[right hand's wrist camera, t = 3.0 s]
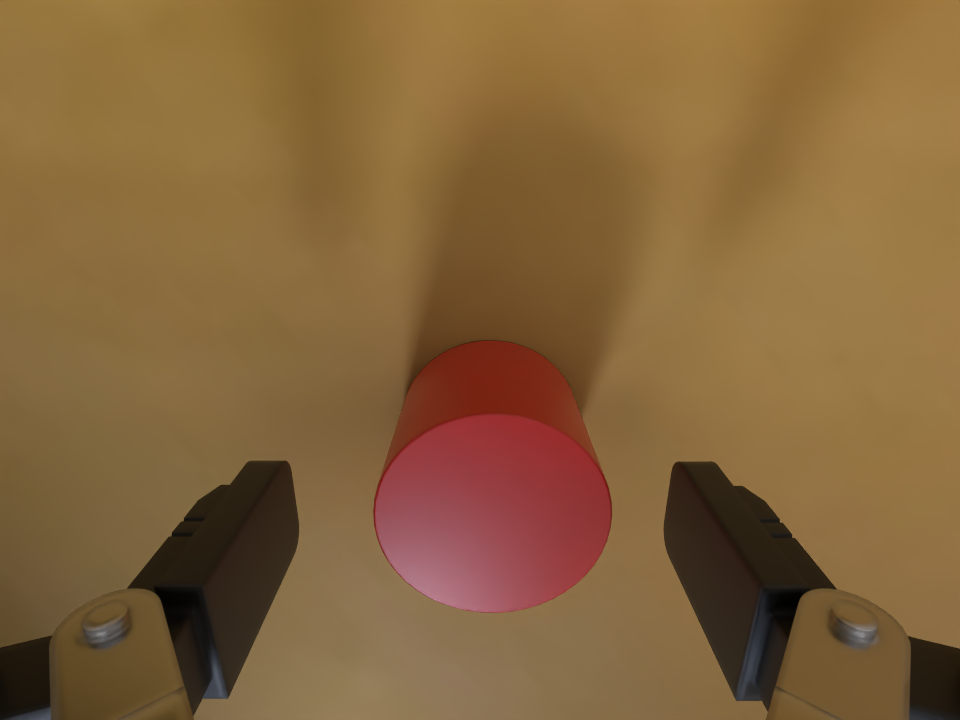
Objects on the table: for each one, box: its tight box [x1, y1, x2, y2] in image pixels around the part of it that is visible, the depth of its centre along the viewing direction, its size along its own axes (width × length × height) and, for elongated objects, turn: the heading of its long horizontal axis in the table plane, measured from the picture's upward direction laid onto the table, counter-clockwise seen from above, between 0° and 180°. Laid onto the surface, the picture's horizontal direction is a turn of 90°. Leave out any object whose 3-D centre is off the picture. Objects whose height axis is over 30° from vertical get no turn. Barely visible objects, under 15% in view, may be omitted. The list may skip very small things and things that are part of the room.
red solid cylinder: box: [373, 341, 612, 613], centre depth 13 cm, size 5×5×4 cm
